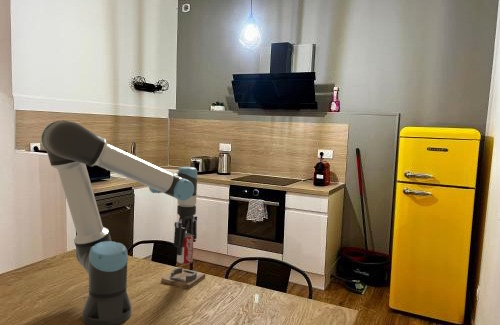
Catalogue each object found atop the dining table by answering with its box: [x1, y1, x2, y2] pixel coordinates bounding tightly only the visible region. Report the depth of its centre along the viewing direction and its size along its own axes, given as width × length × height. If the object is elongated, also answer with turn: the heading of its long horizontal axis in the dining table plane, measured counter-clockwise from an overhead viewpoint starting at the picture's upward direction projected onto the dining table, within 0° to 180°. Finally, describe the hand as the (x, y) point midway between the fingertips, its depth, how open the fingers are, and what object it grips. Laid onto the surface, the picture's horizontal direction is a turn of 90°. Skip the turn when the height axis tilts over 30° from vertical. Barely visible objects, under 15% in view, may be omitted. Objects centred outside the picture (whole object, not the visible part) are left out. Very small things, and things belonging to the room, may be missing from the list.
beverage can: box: [177, 232, 194, 266], centre depth 152 cm, size 6×6×12 cm
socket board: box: [161, 266, 206, 290], centre depth 154 cm, size 13×13×3 cm
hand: (184, 259), depth 153 cm, fingers closed on beverage can, 6 cm apart
